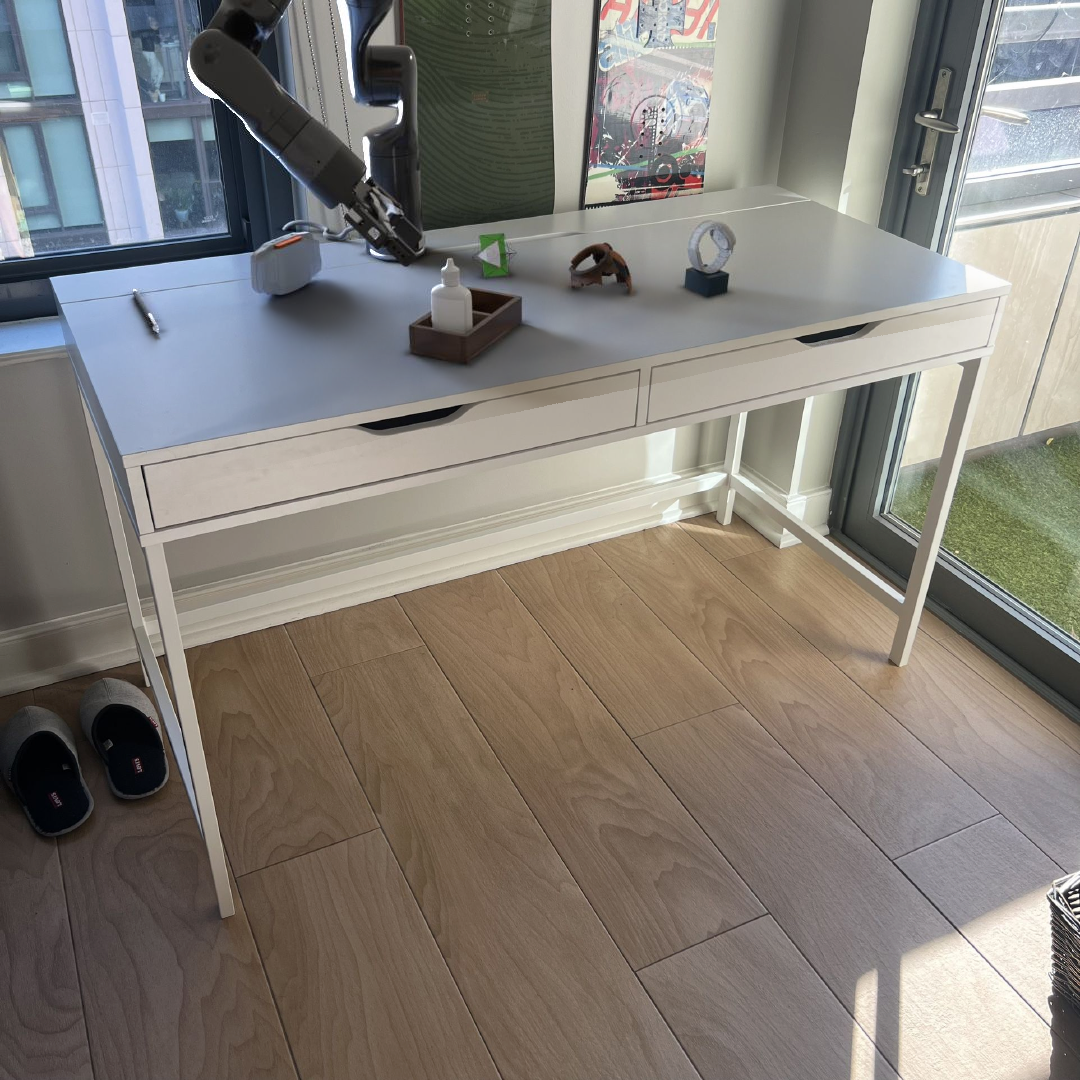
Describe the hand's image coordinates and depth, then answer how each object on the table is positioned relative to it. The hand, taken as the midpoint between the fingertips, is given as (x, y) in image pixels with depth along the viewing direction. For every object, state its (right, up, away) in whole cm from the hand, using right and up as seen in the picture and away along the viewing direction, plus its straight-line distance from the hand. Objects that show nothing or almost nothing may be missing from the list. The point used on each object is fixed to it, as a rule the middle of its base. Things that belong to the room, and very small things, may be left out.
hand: (415, 251), depth 143 cm
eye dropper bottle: (+4, -11, +7) cm, 14 cm away
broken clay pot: (+27, +2, +29) cm, 39 cm away
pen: (-43, -5, +17) cm, 46 cm away
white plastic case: (-23, +1, +27) cm, 35 cm away
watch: (+44, +1, +29) cm, 52 cm away
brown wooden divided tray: (+6, -10, +11) cm, 16 cm away
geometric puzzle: (+9, +5, +34) cm, 35 cm away
